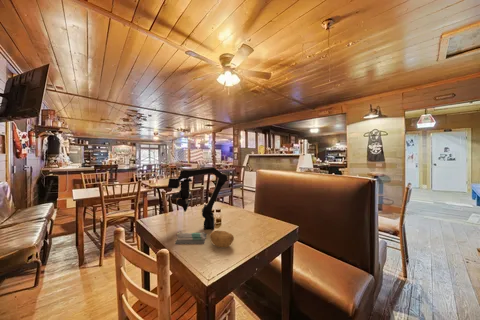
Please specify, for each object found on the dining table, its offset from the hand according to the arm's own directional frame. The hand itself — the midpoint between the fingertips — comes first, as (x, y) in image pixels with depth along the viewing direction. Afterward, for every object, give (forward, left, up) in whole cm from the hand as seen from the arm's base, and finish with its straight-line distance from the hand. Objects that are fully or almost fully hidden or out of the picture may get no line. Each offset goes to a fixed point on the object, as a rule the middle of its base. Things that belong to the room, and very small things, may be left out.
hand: (185, 211), depth 123 cm
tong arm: (-8, +17, -9) cm, 21 cm away
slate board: (-8, +15, -12) cm, 21 cm away
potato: (-26, +23, -12) cm, 37 cm away
